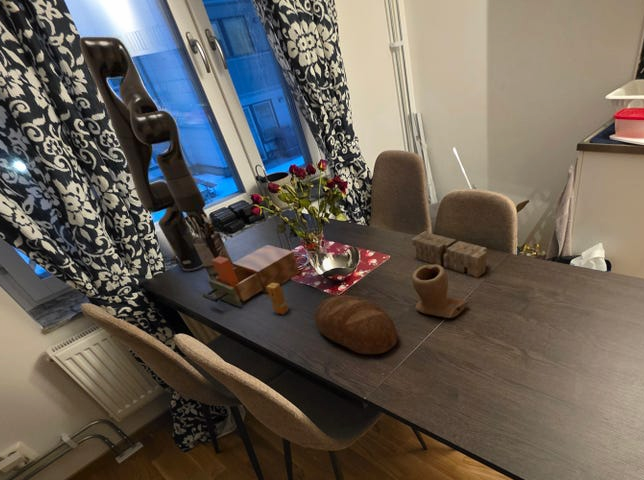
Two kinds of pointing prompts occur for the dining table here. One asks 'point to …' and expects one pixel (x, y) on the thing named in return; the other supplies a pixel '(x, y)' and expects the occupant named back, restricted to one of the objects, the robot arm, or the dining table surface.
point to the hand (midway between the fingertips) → (211, 247)
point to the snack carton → (226, 272)
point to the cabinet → (270, 265)
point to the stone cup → (435, 292)
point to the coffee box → (211, 254)
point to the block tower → (450, 253)
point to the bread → (356, 324)
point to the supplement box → (277, 298)
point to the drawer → (245, 287)
